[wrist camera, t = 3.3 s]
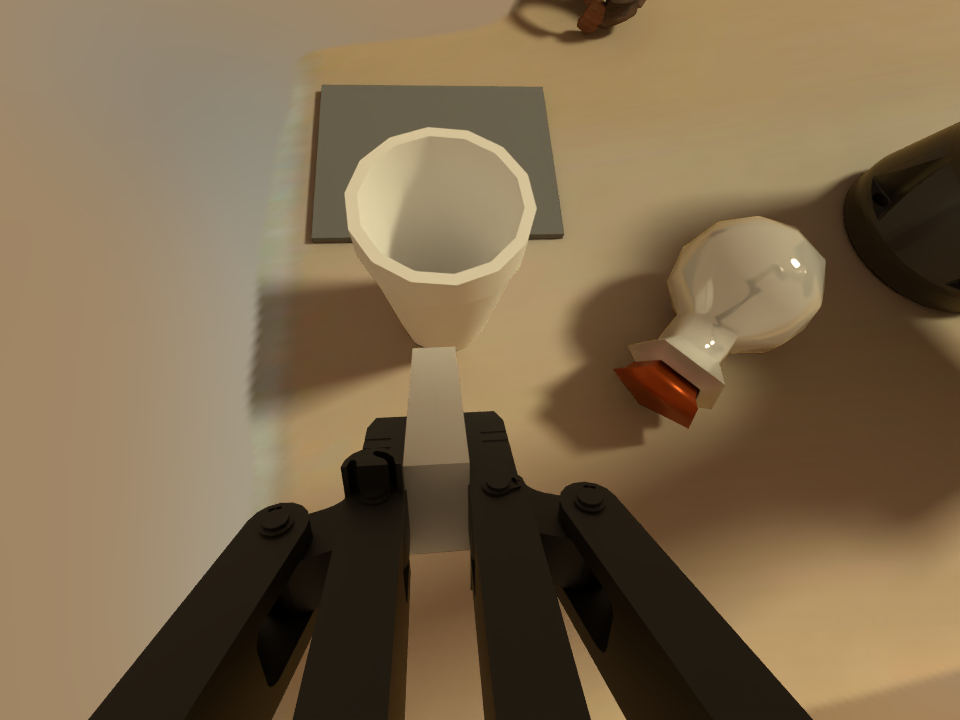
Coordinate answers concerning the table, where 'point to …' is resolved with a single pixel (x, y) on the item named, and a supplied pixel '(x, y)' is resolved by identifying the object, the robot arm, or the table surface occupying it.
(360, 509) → the robot arm
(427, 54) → the table surface
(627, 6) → the brown curved ring piece
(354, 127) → the mat
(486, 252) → the foam cup
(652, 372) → the potion bottle
